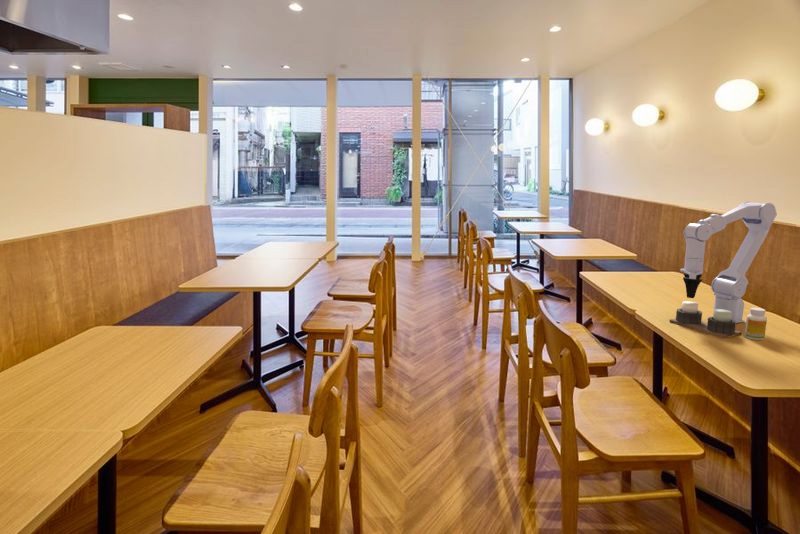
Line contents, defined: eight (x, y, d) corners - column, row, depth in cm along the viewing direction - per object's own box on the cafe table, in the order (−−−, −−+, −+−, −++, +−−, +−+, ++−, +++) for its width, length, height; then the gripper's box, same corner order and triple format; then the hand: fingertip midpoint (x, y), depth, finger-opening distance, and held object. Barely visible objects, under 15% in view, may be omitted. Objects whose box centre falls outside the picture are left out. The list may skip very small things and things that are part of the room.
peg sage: (719, 318, 174) (720, 308, 174) (734, 322, 170) (735, 312, 169) (709, 320, 172) (710, 310, 172) (723, 324, 168) (725, 313, 167)
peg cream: (687, 310, 185) (688, 300, 184) (700, 313, 180) (701, 303, 180) (678, 311, 183) (679, 302, 182) (690, 314, 179) (691, 305, 178)
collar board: (686, 319, 188) (688, 307, 187) (741, 334, 170) (742, 321, 169) (669, 321, 184) (670, 309, 184) (722, 337, 166) (724, 324, 165)
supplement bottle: (767, 340, 163) (771, 311, 161) (748, 339, 164) (752, 310, 163) (759, 335, 168) (763, 307, 167) (741, 334, 169) (744, 306, 168)
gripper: (681, 254, 186) (678, 290, 188) (680, 259, 174) (677, 298, 176) (704, 255, 183) (700, 292, 185) (704, 261, 170) (700, 300, 173)
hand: (690, 295), depth 180 cm, fingers open, 7 cm apart
